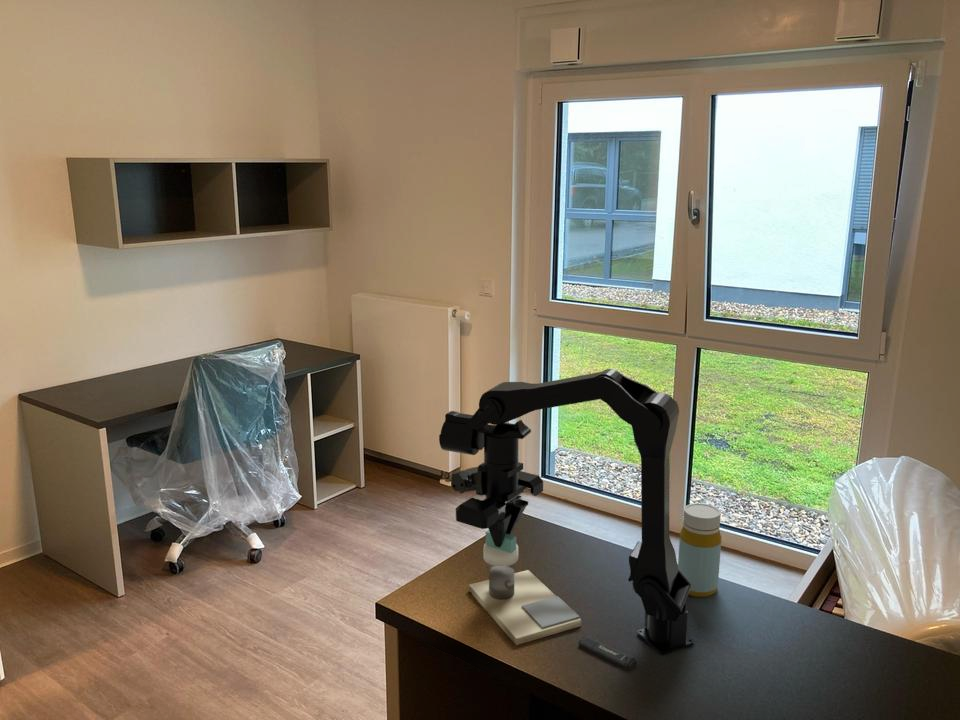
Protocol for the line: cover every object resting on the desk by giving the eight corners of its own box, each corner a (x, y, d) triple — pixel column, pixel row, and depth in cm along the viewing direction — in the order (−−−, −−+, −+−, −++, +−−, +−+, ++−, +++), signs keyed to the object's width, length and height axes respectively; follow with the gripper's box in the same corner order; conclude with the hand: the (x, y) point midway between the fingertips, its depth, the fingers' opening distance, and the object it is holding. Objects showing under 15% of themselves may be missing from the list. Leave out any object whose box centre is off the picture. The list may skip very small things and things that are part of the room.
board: (580, 626, 126) (581, 597, 125) (516, 645, 122) (516, 615, 120) (528, 575, 142) (528, 550, 141) (468, 590, 137) (468, 564, 136)
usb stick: (576, 648, 121) (576, 639, 121) (586, 641, 123) (586, 632, 123) (628, 674, 115) (628, 665, 115) (637, 665, 117) (638, 657, 117)
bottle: (713, 579, 141) (718, 503, 137) (720, 599, 134) (727, 520, 130) (674, 577, 141) (678, 501, 138) (680, 597, 135) (684, 518, 131)
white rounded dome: (506, 569, 129) (506, 545, 128) (476, 559, 132) (476, 536, 131) (524, 555, 134) (525, 532, 132) (495, 546, 137) (495, 523, 136)
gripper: (492, 434, 140) (492, 513, 144) (428, 465, 125) (430, 553, 129) (545, 446, 134) (544, 528, 138) (484, 480, 119) (485, 572, 123)
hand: (501, 544), depth 132 cm, fingers closed on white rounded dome, 2 cm apart
